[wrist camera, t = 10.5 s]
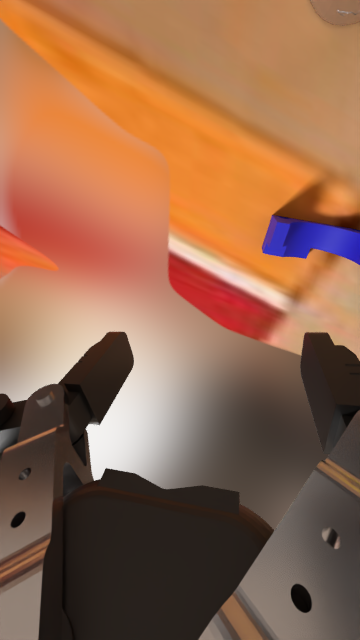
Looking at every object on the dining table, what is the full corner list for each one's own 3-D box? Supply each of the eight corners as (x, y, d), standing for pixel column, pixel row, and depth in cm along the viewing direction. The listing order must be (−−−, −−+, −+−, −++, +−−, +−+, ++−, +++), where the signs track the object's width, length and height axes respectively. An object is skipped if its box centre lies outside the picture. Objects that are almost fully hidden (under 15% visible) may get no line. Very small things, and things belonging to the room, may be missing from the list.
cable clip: (261, 247, 35) (264, 259, 30) (272, 214, 32) (277, 221, 27) (347, 263, 33) (365, 279, 28) (365, 230, 31) (388, 241, 26)
